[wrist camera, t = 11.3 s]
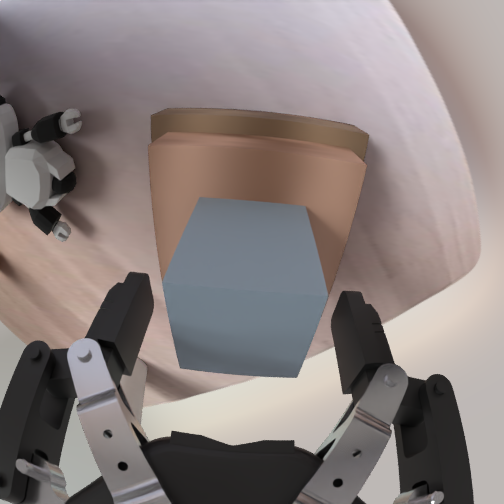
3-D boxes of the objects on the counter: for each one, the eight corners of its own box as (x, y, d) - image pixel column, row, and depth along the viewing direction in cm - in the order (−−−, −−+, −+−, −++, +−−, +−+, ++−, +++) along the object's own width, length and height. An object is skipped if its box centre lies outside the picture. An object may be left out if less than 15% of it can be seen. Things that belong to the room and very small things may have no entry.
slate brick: (202, 277, 16) (180, 368, 11) (199, 197, 13) (162, 282, 8) (289, 285, 16) (296, 377, 11) (305, 205, 13) (328, 296, 8)
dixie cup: (155, 384, 37) (141, 443, 29) (103, 366, 35) (83, 422, 27) (159, 358, 32) (141, 429, 24) (98, 336, 31) (71, 403, 23)
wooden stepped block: (174, 258, 23) (153, 311, 18) (167, 108, 16) (127, 125, 11) (319, 270, 23) (331, 326, 18) (353, 125, 16) (390, 149, 11)
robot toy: (105, 98, 16) (-15, 81, 12) (74, 109, 12) (-48, 93, 8) (84, 229, 23) (-18, 191, 19) (63, 260, 19) (-42, 213, 15)
